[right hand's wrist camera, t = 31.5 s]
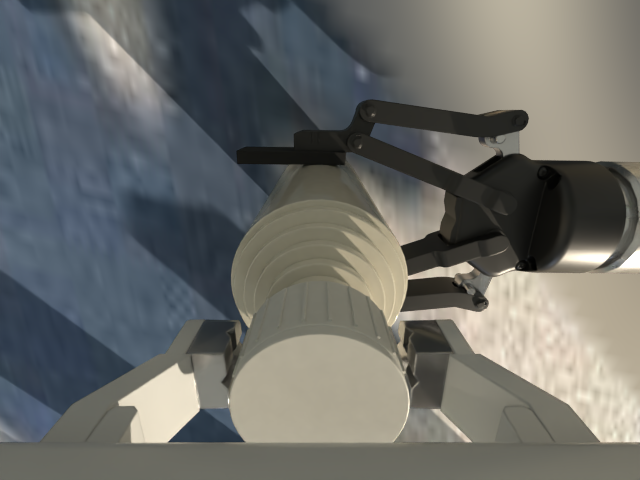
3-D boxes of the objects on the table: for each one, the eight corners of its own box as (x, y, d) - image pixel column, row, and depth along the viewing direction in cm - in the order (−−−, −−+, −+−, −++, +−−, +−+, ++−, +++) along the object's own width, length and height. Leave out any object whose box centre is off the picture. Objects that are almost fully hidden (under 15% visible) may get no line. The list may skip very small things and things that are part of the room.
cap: (291, 251, 9) (282, 297, 7) (420, 322, 10) (450, 385, 8) (223, 362, 10) (195, 432, 8) (341, 416, 11) (347, 494, 9)
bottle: (376, 179, 29) (516, 342, 8) (332, 244, 31) (356, 504, 10) (305, 134, 28) (263, 195, 7) (264, 205, 30) (139, 414, 9)
